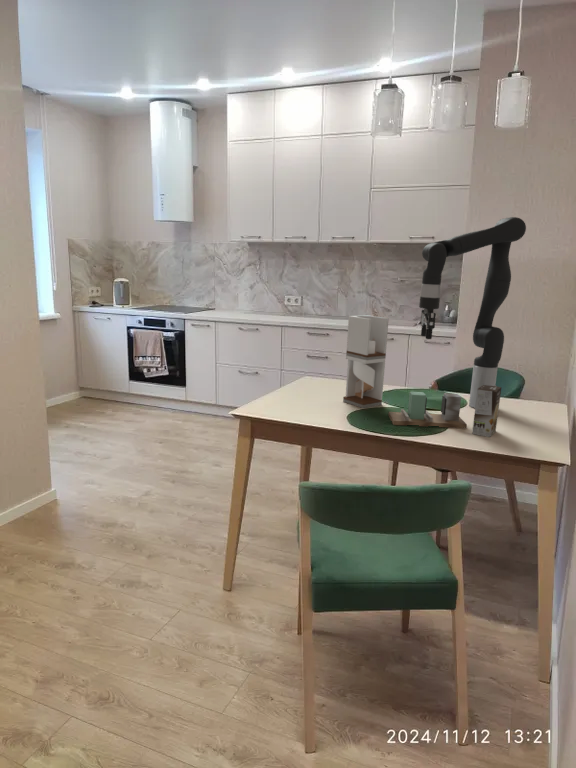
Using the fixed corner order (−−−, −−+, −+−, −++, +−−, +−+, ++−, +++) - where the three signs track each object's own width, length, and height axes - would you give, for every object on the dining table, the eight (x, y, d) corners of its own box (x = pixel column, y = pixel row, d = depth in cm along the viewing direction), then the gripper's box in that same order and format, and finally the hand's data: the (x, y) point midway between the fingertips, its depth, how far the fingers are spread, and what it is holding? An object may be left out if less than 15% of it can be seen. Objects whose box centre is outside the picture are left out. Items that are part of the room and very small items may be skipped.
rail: (457, 418, 210) (460, 391, 208) (466, 428, 199) (469, 399, 196) (388, 415, 211) (390, 388, 208) (393, 424, 199) (395, 396, 197)
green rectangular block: (422, 415, 207) (424, 392, 205) (425, 419, 202) (427, 395, 200) (407, 415, 207) (409, 391, 205) (410, 418, 202) (412, 394, 200)
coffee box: (490, 437, 189) (496, 391, 186) (471, 433, 192) (477, 388, 189) (496, 431, 197) (501, 386, 193) (477, 427, 200) (482, 384, 196)
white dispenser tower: (343, 401, 229) (348, 316, 221) (361, 398, 235) (368, 315, 227) (362, 408, 220) (369, 319, 212) (381, 404, 226) (388, 318, 218)
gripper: (444, 297, 209) (439, 340, 213) (435, 295, 223) (431, 335, 227) (424, 297, 209) (420, 339, 213) (416, 294, 223) (412, 334, 227)
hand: (426, 337), depth 220 cm, fingers open, 8 cm apart
